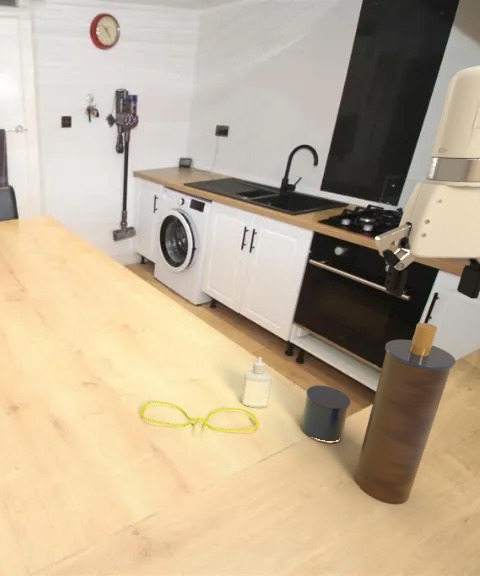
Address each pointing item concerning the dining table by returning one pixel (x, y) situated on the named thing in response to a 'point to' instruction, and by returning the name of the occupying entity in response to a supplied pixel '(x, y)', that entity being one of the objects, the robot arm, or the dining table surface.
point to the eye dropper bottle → (256, 386)
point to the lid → (421, 350)
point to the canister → (325, 413)
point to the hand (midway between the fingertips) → (429, 294)
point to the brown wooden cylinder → (398, 429)
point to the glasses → (200, 418)
